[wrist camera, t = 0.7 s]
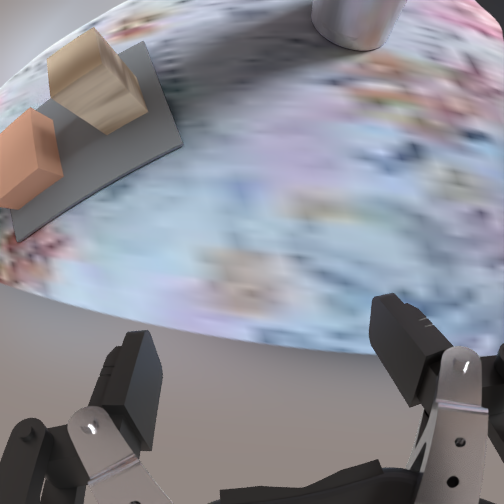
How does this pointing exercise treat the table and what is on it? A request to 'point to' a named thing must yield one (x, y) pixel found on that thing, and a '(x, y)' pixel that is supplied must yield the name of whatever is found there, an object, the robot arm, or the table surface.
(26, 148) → the base block
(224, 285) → the table surface
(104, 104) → the pillar
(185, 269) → the table surface
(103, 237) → the table surface
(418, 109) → the table surface
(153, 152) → the build mat
